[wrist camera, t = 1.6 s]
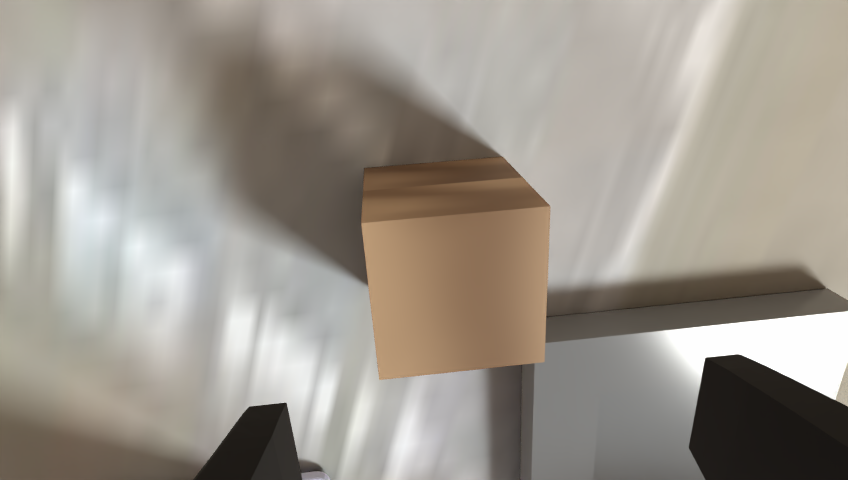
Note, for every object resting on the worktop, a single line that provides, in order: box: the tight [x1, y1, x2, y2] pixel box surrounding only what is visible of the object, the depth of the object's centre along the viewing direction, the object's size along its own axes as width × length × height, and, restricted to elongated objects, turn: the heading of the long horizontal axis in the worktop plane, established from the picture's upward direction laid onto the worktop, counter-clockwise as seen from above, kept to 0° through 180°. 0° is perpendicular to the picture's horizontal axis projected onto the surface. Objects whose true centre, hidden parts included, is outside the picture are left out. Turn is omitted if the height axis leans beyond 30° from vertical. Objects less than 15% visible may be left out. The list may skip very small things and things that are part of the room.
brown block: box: [361, 157, 550, 380], centre depth 15 cm, size 4×4×5 cm
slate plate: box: [520, 289, 848, 480], centre depth 21 cm, size 12×12×2 cm
